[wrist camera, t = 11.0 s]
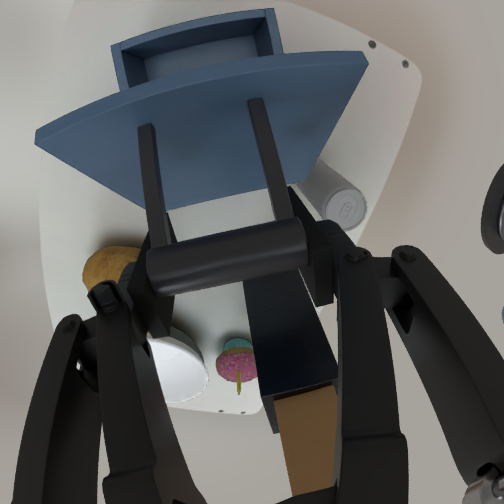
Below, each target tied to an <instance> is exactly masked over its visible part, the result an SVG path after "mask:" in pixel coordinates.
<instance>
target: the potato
mask: <svg viewBox="0 0 504 504" xmlns="http://www.w3.org/2000/svg"><path fill="white" fill-rule="evenodd" d="M140 251H141V249H139V248H135V247H123V246H110V247H104V248H102V249H100V250H98V251H97V252H95V253H94V254H93V255H92V256H91V257H90V258H89V259H88V260H87V262H86V264H85V266H84V270H83V274H82V276H83V282H84V284H85V286H86V288H87V289H88V292H89V291H90V290H91V288H92V287H94V286H95V285H96V284H98V283H100V282H101V281H104V280H114V281H116V283H118V280H119V278H120V275H121V273H122V270H123V269H124V268H125V266H126V265H127V264H128V263H129V262H134V261H137V258H138V256H139V253H140Z"/></svg>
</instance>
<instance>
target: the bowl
mask: <svg viewBox="0 0 504 504" xmlns="http://www.w3.org/2000/svg"><path fill="white" fill-rule="evenodd" d="M146 338H147V340H148V342H149V343H150V345H151V349H152V353H153V357H154V361H155V365H156V369H157V373H158V377H159V381H160V384H161V388H162V392H163V395H164V399H165V402H166V404H172V403H180V402H184V401H188V400H191V399H193V398H195V397H197V396H198V395H199V394H201V393H202V392H203V391H204V389H205V388H206V387H207V384H208V381H209V374H208V371H207V369H206V367H205V365H204V360H203V356H202V353H201V351H200V350H199V349H198V347H197V346H196V344H195V343H194V342H193V341H192V340H191V339H190V338H189V337H188V336H187V335H186V334H184V333H183V332H181V331H179V330H177V329H175V328H173V327H171V329H170V336H169V337H163V338H156V339H153V338H152V336H151V334H150V333H149V331H148V332H147V337H146Z"/></svg>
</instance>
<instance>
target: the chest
mask: <svg viewBox="0 0 504 504" xmlns="http://www.w3.org/2000/svg"><path fill="white" fill-rule="evenodd" d="M110 47H111V52H112V57H113V62H114V66H115V71H116V76H117V80H118V84H119V89H120V91H123V90H126V89H129V88H132V87H134V86H137V85H140V84H143V83H146V82H150V81H153V80H156V79H159V78H163V77H166V76H170V75H173V74H177V73H181V72H185V71H188V70H193V69H197V68H201V67H205V66H210V65H215V64H220V63H225V62H230V61H236V60H242V59H248V58H255V57H262V56H270V55H279V54H283V49H282V44H281V39H280V34H279V29H278V24H277V20H276V15H275V11H274V8H267V9H257V10H248V11H240V12H233V13H227V14H221V15H216V16H210V17H205V18H200V19H196V20H191V21H187V22H183V23H179V24H175V25H172V26H168V27H164V28H161V29H158V30H154V31H151V32H148V33H145V34H142V35H139V36H136V37H133V38H130V39H127V40H125V41H122V42H120V43H116V44H114V45H111V46H110Z"/></svg>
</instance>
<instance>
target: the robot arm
mask: <svg viewBox="0 0 504 504" xmlns="http://www.w3.org/2000/svg"><path fill="white" fill-rule="evenodd" d="M287 189H288V193H289V197H290V201H291V206H292V210H293V214H294V217H298V218H299V219H300V221H301V223H302V225H303V228H304V231H305V234H306V238H307V243H308V248H309V265H308V266H307V267H304V268H299V269H300V272H301V274H302V276H303V278H304V281H305V283H306V285H307V288H308V290H309V292H310V295H311V297H312V299H313V302H314V304H315V307H319V306H323V305H327V304H331V303H333V302H334V301H333V300H334V294H335V296H336V298H337V322H338V397H337V422H336V440H335V454H334V465H333V472H332V480H331V487H329V488H325V489H321V490H317V491H313V492H309V493H304V494H299V495H295V496H293V497H291V498H288V499H286V500H284V501H282V502H279V503H276V504H408V489H409V488H408V487H409V485H408V484H409V482H408V481H409V474H408V447H407V440H406V438H405V435H403V434H402V433H401V431H400V426H399V413H398V402H397V392H396V383H395V375H394V367H393V360H392V353H391V347H390V340H389V335H388V328H387V323H386V317H385V312H384V308H386V311H387V312H388V314H389V316H390V318H391V319H392V322H393V324H394V326H395V327H396V329H397V331H398V333H399V335H400V337H401V339H402V341H403V343H404V345H405V347H406V349H407V351H408V353H409V355H410V357H411V359H412V361H413V364H414V366H415V368H416V370H417V372H418V374H419V376H420V378H421V381H422V383H423V385H424V387H425V389H426V392H427V394H428V396H429V398H430V401H431V403H432V405H433V408H434V410H435V412H436V415H437V417H438V420H439V422H440V425H441V427H442V430H443V432H444V435H445V437H446V440H447V442H448V445H449V448H450V451H451V453H452V456H453V459H454V461H455V463H456V466H457V468H458V471H459V472H460V474H461V476H462V477H463V480H464V481H465V483H466V484H467V485H468V488H467V490H466V492H465V496H464V498H463V501H462V504H504V360H503V358H502V356H501V355H500V353H499V352H498V350H497V348H496V347H495V345H494V344H493V342H492V341H491V339H490V338H489V336H488V335H487V333H486V332H485V331H484V329H483V328H482V326H481V325H480V324H479V322H478V321H477V319H476V318H475V316H474V315H473V314H472V312H471V311H470V310H469V308H468V307H467V306H466V304H465V303H464V302H463V300H462V299H461V298H460V296H459V295H458V294H457V293H456V291H455V290H454V289H453V288H452V286H451V285H450V284H449V283H448V281H447V280H446V279H445V278H444V276H443V275H442V274H441V273H440V272H439V270H438V269H437V268H436V267H435V266H434V265H433V263H432V262H431V261H430V260H429V259H428V258H427V256H426V255H425V254H424V253H423V252H422V251H421V250H420V249H418V248H416V247H413V246H409V245H404V246H398V247H396V248H395V249H393V251H392V255H391V257H372V255H371V253H370V252H369V251H368V250H366V249H364V248H361V247H356V246H355V244H354V243H353V242H352V241H351V239H350V238H349V237H348V236H347V234H345V232H344V231H343V230H342V228H341V227H340V226H339V225H338V223H336V222H334V221H332V220H330V219H327V220H322V221H317V222H316V221H315V219H314V218H313V217H312V215H311V214H310V212H309V211H308V210H307V208H306V207H305V205H304V204H303V203H302V201H301V200H300V198H299V197H298V196H297V194H296V193H295V192H294V190H293V189H292V188H291V186H287ZM166 214H167V220H168V226H169V232H170V238H171V243H177V240H176V237H175V234H174V231H173V228H172V224H171V221H170V218H169V215H168V212H167V213H166ZM497 230H498V234H499V236H500V237H501V238H502V239H503V240H504V196H503V199H502V201H501V204H500V208H499V212H498V218H497ZM151 248H152V247H151V241H150V235H149V231H148V233H147V236H146V238H145V240H144V243H143V245H142V248H141V251H140V253H139V256H138V258H137V261H134V262H129V263H128V264H127V265H126V266H125V268H124V269H123V270H122V273H121V275H120V278H119V280H118V283H116V281H114V280H104V281H101V282H100V283H98V284H96V285H95V286H94V287H92V288H91V290H90V291H89V292H88V295H87V297H88V298H89V300H90V302H91V304H92V305H93V307H94V309H95V310H96V312H97V315H96V316H95V317H92V318H90V319H87V320H85V321H83V320H82V319H81V317H80V316H79V315H77V314H71V315H69V316H66V317H64V318H63V319H62V320H61V321H60V322H59V324H58V325H57V327H56V329H55V332H54V335H53V337H52V340H51V342H50V345H49V347H48V350H47V353H46V356H45V359H44V361H43V364H42V367H41V370H40V373H39V377H38V379H37V383H36V386H35V389H34V393H33V396H32V399H31V403H30V406H29V410H28V415H27V418H26V422H25V426H24V431H23V435H22V440H21V445H20V450H19V456H18V461H17V468H16V474H15V482H14V491H13V500H12V502H11V504H97V481H98V461H99V446H100V436H101V426H102V424H103V432H104V439H105V446H106V452H107V457H108V462H109V468H110V473H109V475H108V476H107V477H105V478H104V479H103V482H102V486H103V487H102V488H103V494H104V498H105V503H106V504H207V503H206V501H205V499H204V497H203V496H202V495H201V493H200V492H199V491H198V489H197V488H196V486H195V484H194V482H193V480H192V477H191V475H190V472H189V470H188V467H187V464H186V462H185V459H184V456H183V454H182V451H181V448H180V445H179V443H178V439H177V437H176V434H175V431H174V428H173V424H172V421H171V419H170V415H169V412H168V409H167V405H166V402H165V399H164V395H163V392H162V388H161V384H160V381H159V377H158V373H157V369H156V365H155V361H154V357H153V353H152V349H151V345H150V343H149V342H148V340H147V338H146V337H147V332H148V331H149V333H150V334H151V336H152V338H153V339H156V338H163V337H169V336H170V329H171V321H172V313H173V306H174V299H175V295H171V296H166V297H158V296H157V295H156V294H155V293H154V291H153V289H152V287H151V285H150V282H149V279H148V275H147V269H146V255H147V252H148V250H149V249H151ZM502 319H503V323H504V307H503V310H502ZM77 362H78V363H79V364H80V369H79V370H78V369H77Z"/></svg>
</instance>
